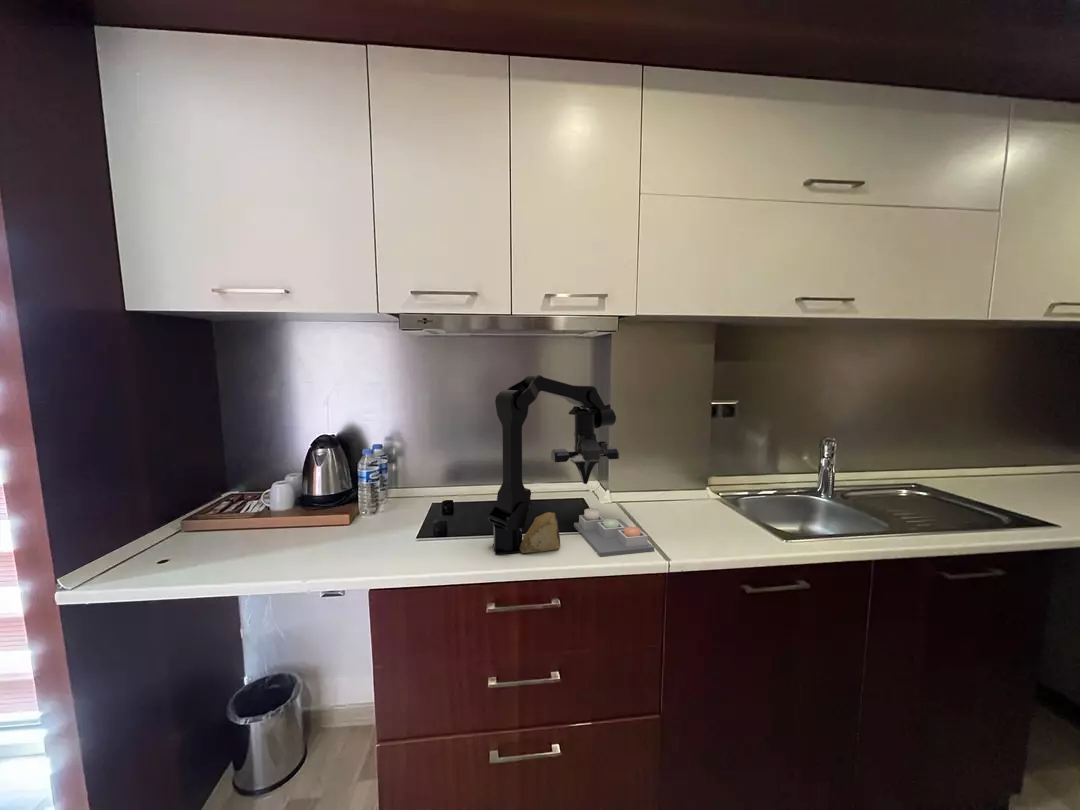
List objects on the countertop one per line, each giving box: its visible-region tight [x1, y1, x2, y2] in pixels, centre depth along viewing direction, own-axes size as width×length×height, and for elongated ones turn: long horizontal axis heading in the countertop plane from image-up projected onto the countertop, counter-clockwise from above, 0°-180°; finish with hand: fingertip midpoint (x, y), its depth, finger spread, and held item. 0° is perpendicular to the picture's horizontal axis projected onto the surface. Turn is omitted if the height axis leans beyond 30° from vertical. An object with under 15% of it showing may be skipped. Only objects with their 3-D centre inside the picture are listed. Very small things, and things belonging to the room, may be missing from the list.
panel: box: [573, 514, 655, 558], centre depth 121 cm, size 14×22×4 cm, turn 12°
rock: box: [519, 511, 561, 554], centre depth 114 cm, size 11×9×10 cm
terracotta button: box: [624, 526, 642, 537], centre depth 114 cm, size 4×4×3 cm
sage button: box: [603, 518, 619, 529], centre depth 120 cm, size 4×4×3 cm
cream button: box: [583, 507, 600, 521], centre depth 127 cm, size 4×4×3 cm
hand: (585, 483), depth 130 cm, fingers closed
